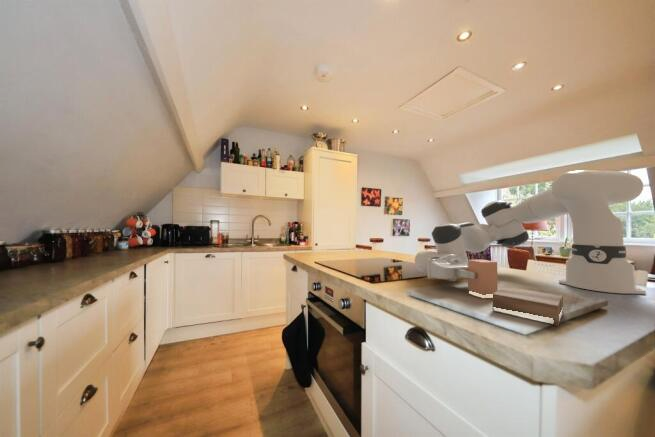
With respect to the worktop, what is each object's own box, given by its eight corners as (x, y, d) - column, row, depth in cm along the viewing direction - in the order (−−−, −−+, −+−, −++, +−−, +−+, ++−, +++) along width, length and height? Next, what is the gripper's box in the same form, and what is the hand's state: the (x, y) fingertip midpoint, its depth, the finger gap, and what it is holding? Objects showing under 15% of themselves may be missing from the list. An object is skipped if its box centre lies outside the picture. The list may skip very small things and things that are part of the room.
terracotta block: (468, 294, 70) (467, 259, 70) (482, 293, 71) (481, 259, 71) (483, 299, 65) (482, 262, 65) (497, 298, 66) (497, 261, 67)
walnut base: (504, 301, 63) (504, 286, 63) (563, 313, 55) (562, 295, 55) (492, 311, 56) (492, 293, 56) (558, 326, 47) (557, 305, 48)
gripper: (474, 275, 83) (514, 284, 70) (423, 277, 78) (454, 288, 65) (474, 257, 83) (513, 263, 70) (423, 258, 79) (454, 265, 65)
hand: (485, 275), depth 67 cm, fingers closed on terracotta block, 5 cm apart
